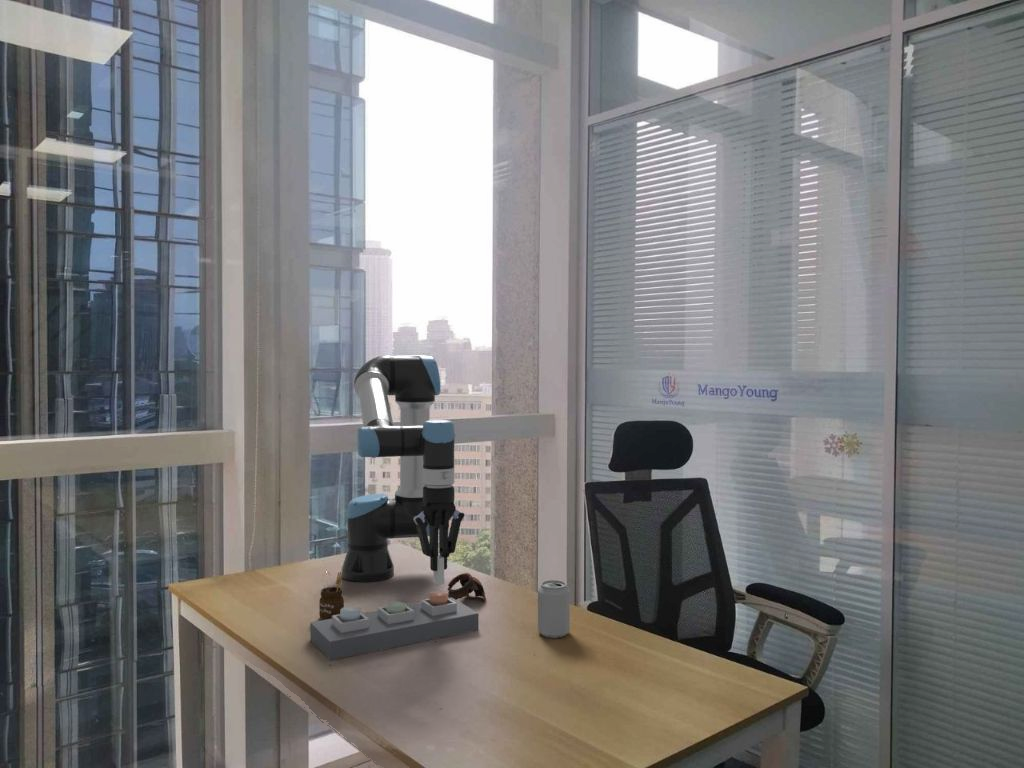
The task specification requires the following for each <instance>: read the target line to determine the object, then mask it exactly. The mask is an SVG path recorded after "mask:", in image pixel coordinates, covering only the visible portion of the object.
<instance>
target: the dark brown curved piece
mask: <svg viewBox="0 0 1024 768" xmlns="http://www.w3.org/2000/svg"><path fill="white" fill-rule="evenodd" d="M458 583H460V585H461V587H459V588H456V589H453V587H454V586H455V585H456V584H458ZM447 584H448V585H447V586H448V588H447V589H446V590H447V591H448V592H447V593H448V598H454V599H455V600H457V601H458V599H459V600H460V599H462V598H465V597H467V598H470V597H471V596H470V594H472V592H474V596H478V597H481V598H483V602H484V603H486V601H487V598H486V592H485V589H484V587H483V584H482V582H481V581H480V580H479V579H478V578H477V577H474V576H473V575H472V574H471V573H468V572H464V573H460V574H458V575H456V576H455V577H453V578H452V579H451V580H450V581H449V583H447Z"/></svg>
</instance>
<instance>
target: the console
mask: <svg viewBox="0 0 1024 768" xmlns="http://www.w3.org/2000/svg"><path fill="white" fill-rule="evenodd" d="M405 605H406V604H405ZM309 626H310V627H309V629H310V630H309V631H310V640H311V641H312V643H313V644H314V645H315V646H316V647H317V648H318V649H319V650H320V652H322V654H324V656H325V657H326V656H327V657H326V658H327V659H328V660H329V661H334V660H337V659H338V658H339V659H342V658H347V657H352V656H357V655H363V654H368V653H372V652H371V651H373V652H376V651H375V650H378V651H381V650H380V649H383V650H386V649H385V648H388V649H391V648H390V647H393V648H396V646H397V647H402V646H407V645H412V644H417V643H421V641H422V642H425V640H427V641H431V640H430V639H432V640H436V638H437V639H440V638H441V637H442V638H445V637H450V636H456V635H461V634H466V633H469V632H475V631H479V613H478V612H477V611H475V610H473V609H472V608H470V607H469V606H467V605H465V604H464V603H462V602H460V601H458V599H457V600H455V599H454V598H448V603H447V604H444V605H432V604H430V598H425V599H421V600H420V602H419V603H417V602H416V603H413V604H407V605H406V611H405V612H400V613H394V614H389V613H387V612H386V605H384V606H381V607H380V606H379V607H377V610H374V611H373V610H371V611H368V612H361V611H360V619H359V620H355V621H350V622H347V621H342V620H341V619H340V614H339V615H333V616H332V619H327V620H322V619H320V620H316V621H310V625H309ZM416 642H417V643H416ZM406 644H407V645H406ZM401 645H402V646H401ZM367 652H368V653H367ZM339 659H338V660H339Z"/></svg>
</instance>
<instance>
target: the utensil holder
mask: <svg viewBox="0 0 1024 768" xmlns="http://www.w3.org/2000/svg"><path fill="white" fill-rule="evenodd" d="M325 575H328V576H329V578H328V576H326V577H325ZM342 575H343V571H342V570H341V571H340V572H337V577H336V581H335V585H337V586H333V585H332V584H330V586H329V583H327V586H324V587H323V588H322V589H321V590H320V597H319V598H320V599H319V601H318V602H319V605H318V606H319V608H318V609H319V612H318V613H319V619H320V620H327V619H332V616H333V615H339V614H340V609H342V608H344V607H345V600H344V596H343V588H341V587H340V584H341V583H342V580H343V577H342ZM321 577H325V578H326V581H328V579H329V580H330V583H332V575H331V574H330V572H328V571H326V572H324V573H323V574H322V575H321ZM325 578H322V579H321V580H322V583H323V584H325Z"/></svg>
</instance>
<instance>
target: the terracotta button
mask: <svg viewBox="0 0 1024 768" xmlns="http://www.w3.org/2000/svg"><path fill="white" fill-rule="evenodd" d="M429 599H430V604H432V605H444V604H447V603H448V592H446V591H443V590H442V591H432V592H430V593H429Z"/></svg>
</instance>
